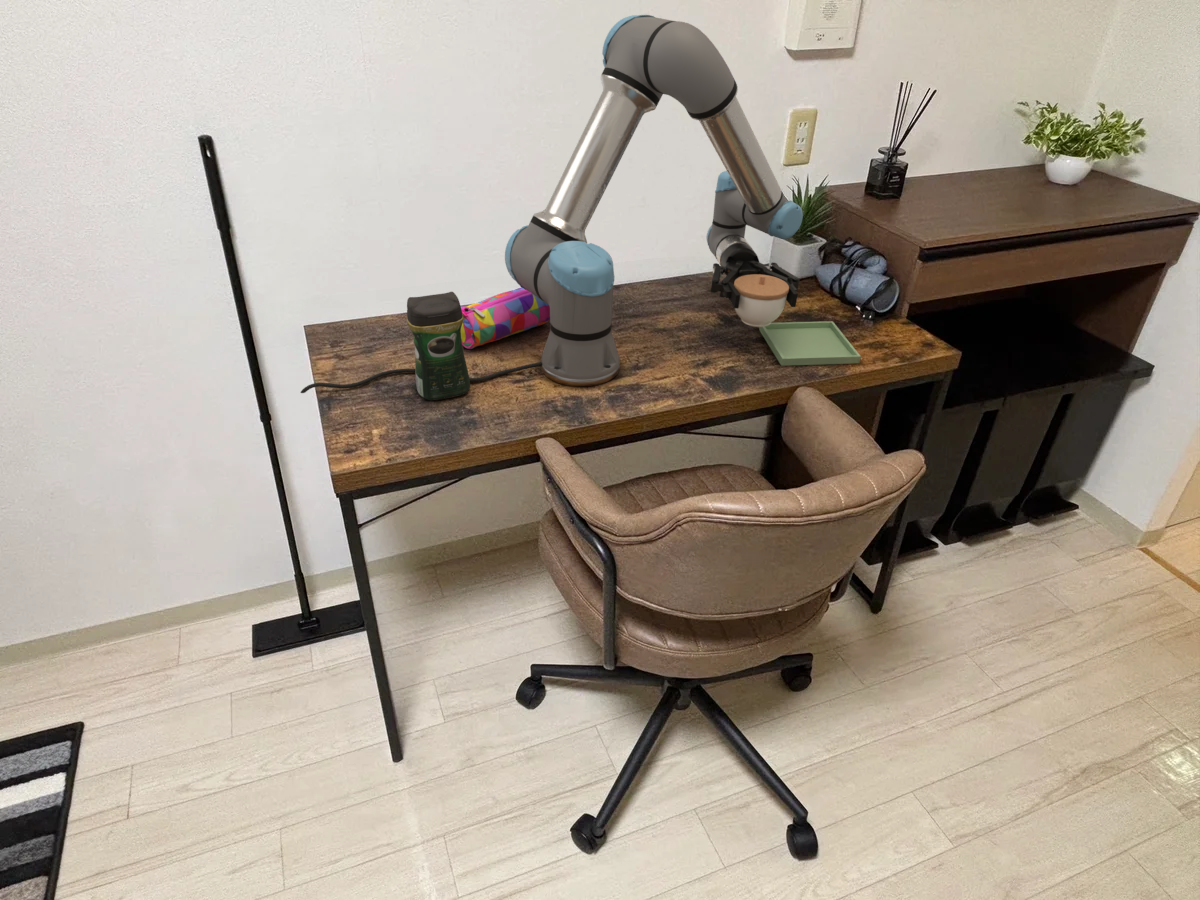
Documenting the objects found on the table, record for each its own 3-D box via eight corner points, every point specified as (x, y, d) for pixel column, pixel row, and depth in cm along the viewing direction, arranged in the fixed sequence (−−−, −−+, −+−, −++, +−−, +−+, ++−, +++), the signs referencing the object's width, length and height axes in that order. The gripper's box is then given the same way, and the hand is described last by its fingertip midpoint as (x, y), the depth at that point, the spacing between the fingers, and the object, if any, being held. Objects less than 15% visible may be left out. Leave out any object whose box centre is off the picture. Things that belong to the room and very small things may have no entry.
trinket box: (780, 310, 160) (787, 267, 155) (785, 333, 151) (793, 288, 146) (728, 307, 161) (733, 264, 155) (730, 330, 152) (736, 285, 147)
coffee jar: (464, 375, 147) (456, 284, 136) (474, 396, 141) (466, 301, 130) (413, 384, 144) (400, 290, 133) (421, 405, 138) (408, 309, 127)
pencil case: (472, 359, 152) (469, 317, 147) (446, 342, 158) (442, 301, 153) (557, 328, 165) (557, 288, 160) (530, 313, 170) (529, 274, 165)
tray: (781, 365, 153) (782, 358, 152) (759, 329, 166) (760, 322, 166) (859, 363, 155) (861, 356, 154) (831, 327, 168) (832, 321, 167)
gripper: (786, 274, 171) (820, 317, 153) (683, 276, 168) (705, 320, 150) (792, 241, 166) (827, 281, 148) (686, 243, 164) (709, 284, 146)
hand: (766, 301), depth 149 cm, fingers closed on trinket box, 11 cm apart
